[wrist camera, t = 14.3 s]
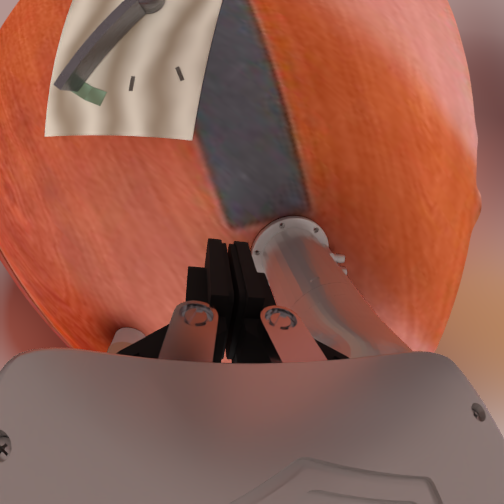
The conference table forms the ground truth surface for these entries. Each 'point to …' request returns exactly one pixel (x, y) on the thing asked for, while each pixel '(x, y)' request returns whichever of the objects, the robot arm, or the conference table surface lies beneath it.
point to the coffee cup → (124, 339)
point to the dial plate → (135, 72)
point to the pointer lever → (103, 41)
